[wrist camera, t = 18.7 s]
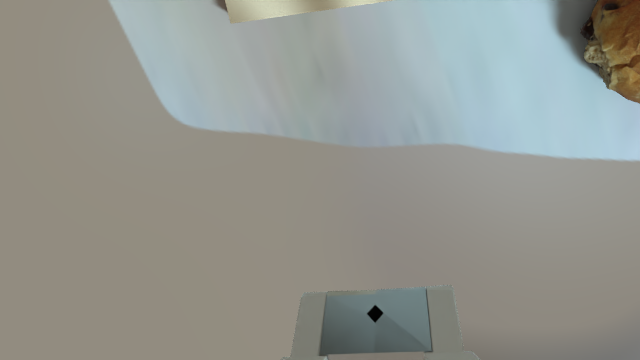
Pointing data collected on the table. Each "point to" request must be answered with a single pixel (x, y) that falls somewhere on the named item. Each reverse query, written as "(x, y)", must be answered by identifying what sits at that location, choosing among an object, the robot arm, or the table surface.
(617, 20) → the bread roll
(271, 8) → the board
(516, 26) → the table surface
